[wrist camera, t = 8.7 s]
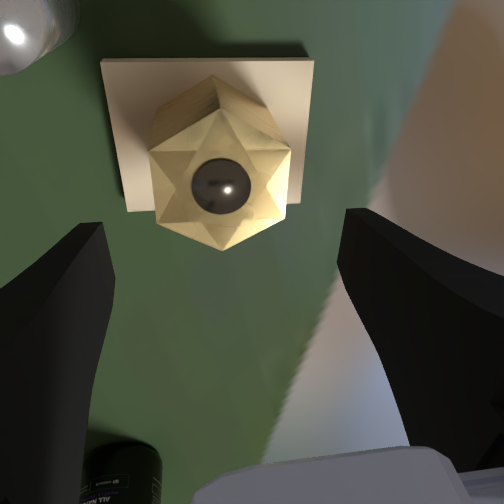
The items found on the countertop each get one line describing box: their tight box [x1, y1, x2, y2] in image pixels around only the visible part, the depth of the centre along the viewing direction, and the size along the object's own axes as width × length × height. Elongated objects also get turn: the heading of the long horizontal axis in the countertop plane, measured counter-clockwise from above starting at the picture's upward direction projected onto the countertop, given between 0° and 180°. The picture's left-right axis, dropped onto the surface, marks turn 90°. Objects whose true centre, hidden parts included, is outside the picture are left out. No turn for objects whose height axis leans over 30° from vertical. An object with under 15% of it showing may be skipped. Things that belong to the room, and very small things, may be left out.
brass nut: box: [148, 74, 291, 251], centre depth 17 cm, size 6×5×5 cm
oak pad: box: [100, 57, 314, 212], centre depth 19 cm, size 7×9×1 cm
